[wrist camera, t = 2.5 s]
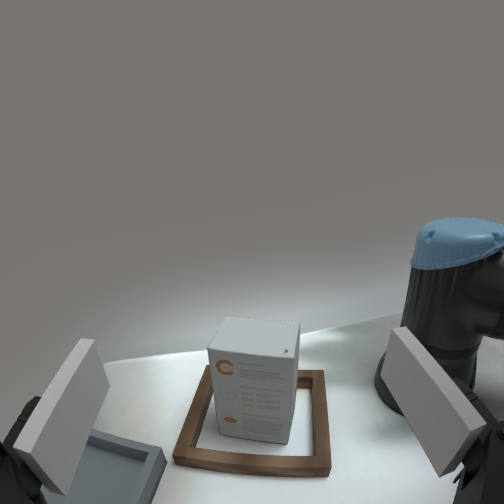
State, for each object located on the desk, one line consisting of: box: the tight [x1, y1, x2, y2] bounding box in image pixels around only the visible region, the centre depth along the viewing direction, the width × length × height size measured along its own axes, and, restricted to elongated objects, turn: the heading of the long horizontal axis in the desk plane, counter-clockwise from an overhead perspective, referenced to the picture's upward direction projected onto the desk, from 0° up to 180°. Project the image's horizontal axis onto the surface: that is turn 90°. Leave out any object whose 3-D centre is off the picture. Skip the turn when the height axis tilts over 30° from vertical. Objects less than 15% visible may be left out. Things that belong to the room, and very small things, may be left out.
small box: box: [207, 316, 300, 444], centre depth 31 cm, size 8×6×13 cm
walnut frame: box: [172, 365, 332, 477], centre depth 33 cm, size 16×16×2 cm
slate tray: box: [40, 429, 167, 504], centre depth 20 cm, size 15×15×3 cm
